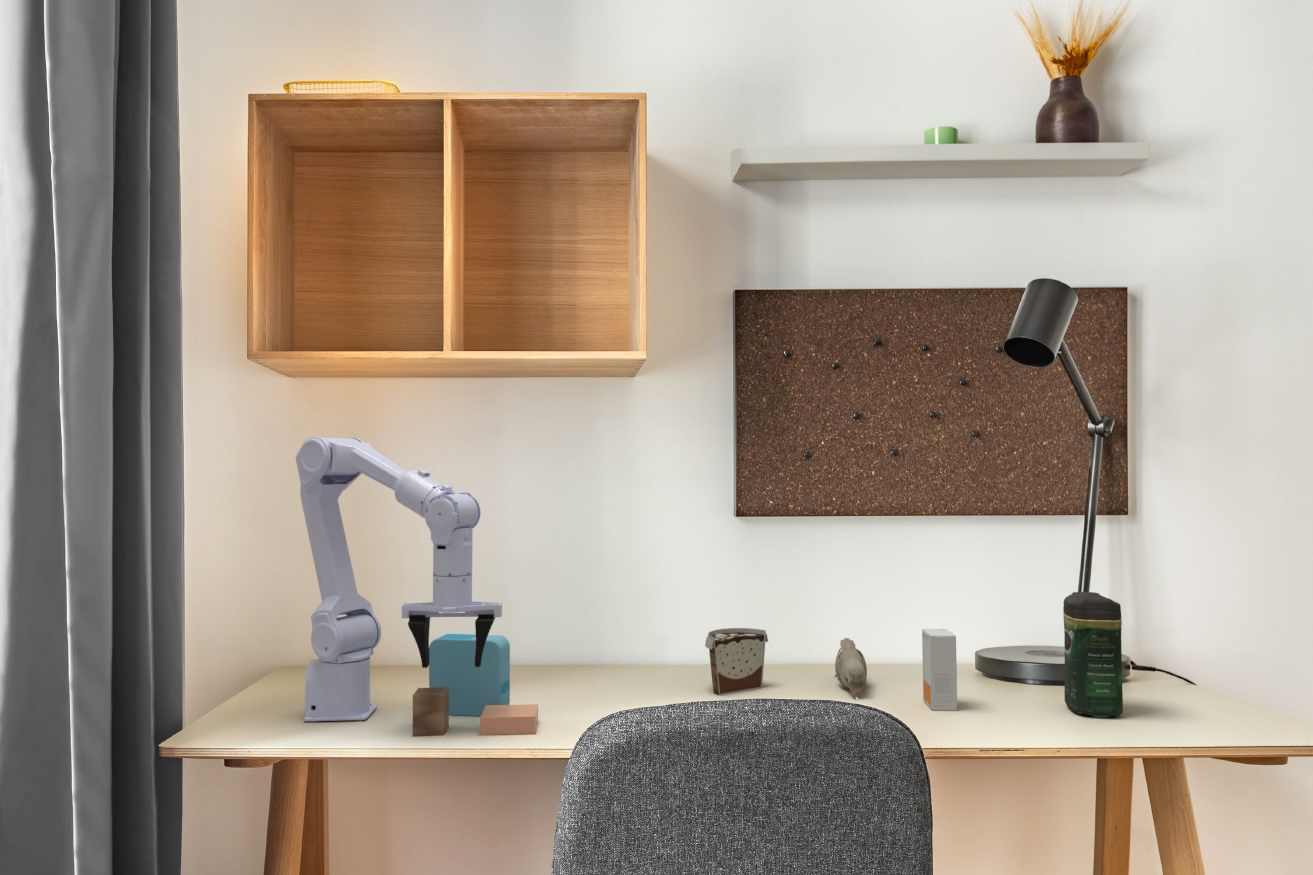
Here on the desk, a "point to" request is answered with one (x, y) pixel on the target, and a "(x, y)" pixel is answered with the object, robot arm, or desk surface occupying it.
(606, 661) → the desk surface
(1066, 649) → the coffee jar
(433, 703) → the walnut block
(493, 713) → the terracotta plinth
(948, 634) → the skincare box
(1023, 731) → the desk surface
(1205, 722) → the desk surface
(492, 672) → the teal rounded block
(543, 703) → the desk surface
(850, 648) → the decorative bird
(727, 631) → the food container
